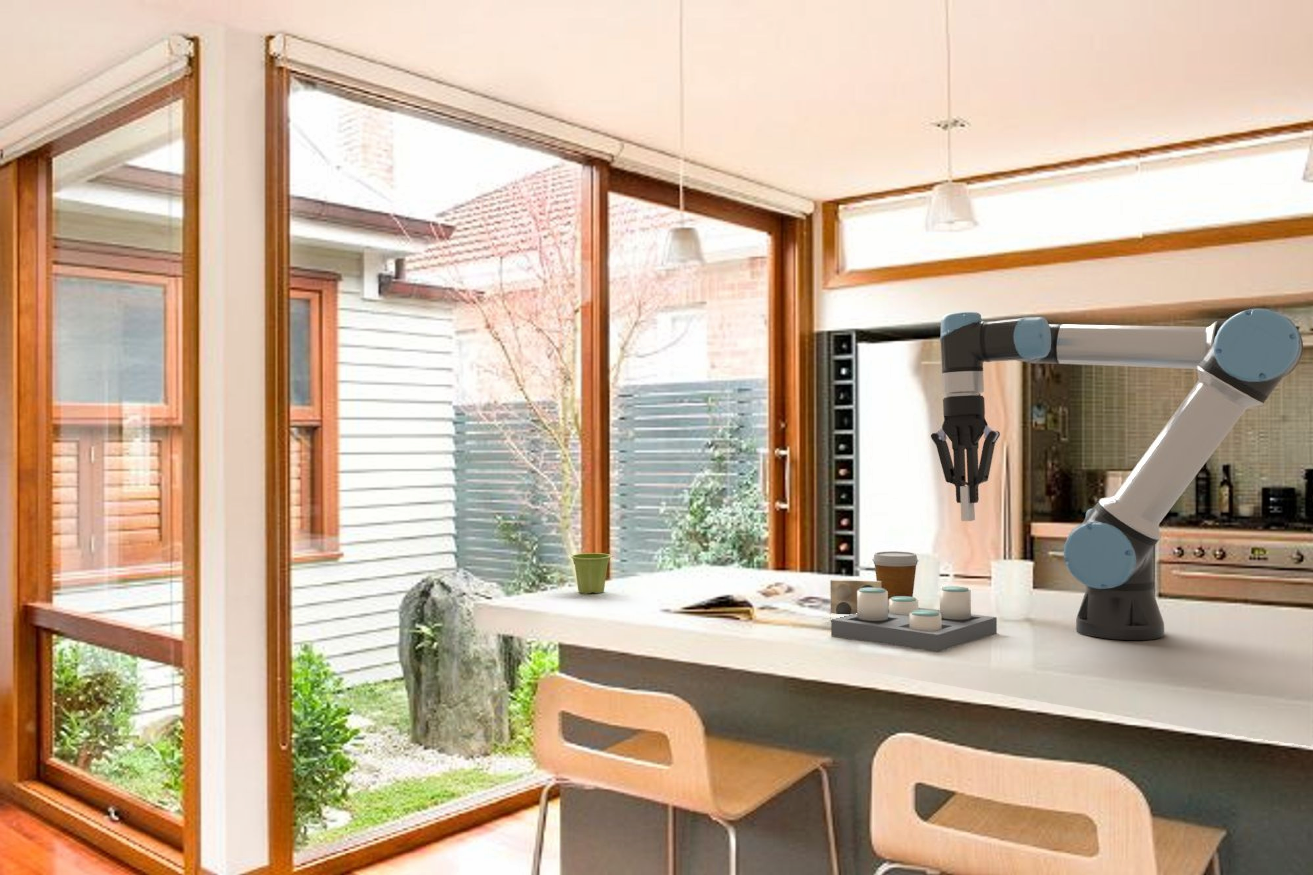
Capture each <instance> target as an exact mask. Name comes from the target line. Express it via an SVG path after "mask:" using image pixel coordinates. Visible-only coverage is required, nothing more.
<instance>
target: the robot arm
mask: <svg viewBox="0 0 1313 875" xmlns="http://www.w3.org/2000/svg"><path fill="white" fill-rule="evenodd" d="M939 342H940V354H941V357H940V358H941V376H942V377H941V378H942V380H941V381H942V382H941V384H942V385H941V386H942V392H941V393H942V394H944V395H945V396H944V397H943V399H942V406H943V407H942V409H943V410H942V411H943V413H942V414H943V418H944V419H943V422H942V425H941V429H939V430H938V431H937V432H934V433H933V432H932V433H931V434H930V438H931V440H932V441H933V444H935V446H936V451H937V453H938V457H939V458H938V459H939V461H940V464H941V468H942V473H943V477H944V479H945V480H944V481H945V482H946V483H949V484H952V485H954V486H955V497H956V498H955V500H956V503H957V504H960V517H961V518H960V519H961V522H972V521H976V517H975V515H976V514H975V504H976V503H979V485H981V484H983V483H985V482H988V481H989V475H990V471H991V467H992V462H993V455H994V450H995V446H996V443H997V441H998V440H999V438H1000V436H1001V432H1000V431H998V430H994V429H993V428H991V427H989V426H988V425H989V424H988V422H987V421H986V416H985V414H986V408H985V404H986V403H985V397H984V395H982V394H981V393H984V392H985V384H984V382H985V381H984V380H985V379H984V362H985V363H991V362H1002V361H1003V362H1010V361H1017V362H1025V363H1027V364H1034V365H1042V364H1050V365H1051V364H1052V365H1053V364H1054V365H1057V364H1058V365H1059V364H1060V365H1061V364H1062V365H1063V364H1064V365H1082V366H1083V365H1084V366H1085V365H1089V366H1109V367H1111V366H1112V367H1134V368H1136V367H1137V368H1138V367H1139V368H1160V369H1163V368H1164V369H1186V370H1189V369H1190V370H1196V371H1197V377H1198V380H1197V382H1196V383H1195V384H1194V386H1193V387H1192V388H1191V390H1190V391H1189V393H1188V394H1187V395H1186V397H1185V398H1184V400H1183V401H1182V402H1181V404H1180V405H1179V406H1178V408H1177V409H1176V410H1175V412H1174V413H1173V415H1172V416H1171V417H1170V418H1169V419H1168V421H1167V423H1166V424H1165V425H1164V426H1163V428H1162V430H1161V431H1160V432H1159V433H1158V435H1157V436H1156V438H1155V439H1154V441H1153V442H1152V443H1151V445H1150V446H1149V447H1148V449H1146V451H1145V453H1144V454H1143V455H1142V456H1141V458H1140V459H1139V461H1138V462H1137V464H1136V465H1135V466H1134V468H1133V469H1132V470H1131V472H1130V473H1129V474H1128V476H1126V479H1125V480H1124V481H1123V483H1122V484H1121V486H1120V487H1119V488H1118V489H1117V490H1116V492H1115V493H1114V495H1112V496H1106V497H1101V498H1099V500H1098V501H1097V503H1096V504H1095V505H1094V506H1093V507H1092V508H1089V509H1087V511H1086V513H1085V518H1084V520H1083V522H1082V523H1081V524H1079V525H1077V526H1076V527H1075V528H1074V529H1072V531H1071V532H1070V533H1068V536H1067V538H1066V540H1065V543H1064V547H1063V557H1064V562H1065V565H1066V567H1067V570H1068V571H1069V572H1070V574H1071V575H1072V576H1073V577H1074V578H1075V579H1076V580H1077V581H1078V582H1080V583H1081V584H1083V585H1085V591H1084V595H1083V597H1082V601H1081V603H1080V607H1079V609H1078V612H1077V616H1076V619H1075V629H1076V632H1078V633H1080V634H1082V635H1086V636H1089V637H1096V638H1100V639H1101V638H1102V639H1108V640H1109V639H1110V640H1120V641H1121V640H1122V641H1123V640H1126V641H1145V640H1148V641H1150V640H1155V639H1161V638H1163V637H1164V636H1165V622H1164V619H1163V616H1162V613H1161V610H1160V607H1159V604H1158V602H1157V598H1156V596H1155V592H1154V591H1155V590H1154V587H1155V585H1154V584H1155V583H1154V580H1155V578H1154V577H1155V576H1154V575H1155V574H1154V573H1155V572H1154V566H1155V565H1154V561H1155V560H1154V558H1155V557H1154V554H1155V553H1154V551H1155V550H1154V547H1155V545H1156V544H1157V543H1158V542H1159V541H1160V539H1161V537H1162V536H1161V532H1160V523H1161V522H1162V521H1163V519H1164V518H1165V517H1166V516H1167V514H1168V513H1169V511H1171V509H1172V507H1173V506H1174V505H1175V504H1176V502H1177V501H1178V500H1179V498H1180V497H1182V494H1183V493H1184V492H1185V490H1186V489H1187V488H1188V486H1190V484H1191V483H1192V481H1193V480H1194V479H1195V478H1196V476H1197V475H1198V474H1199V472H1200V471H1201V470H1202V468H1203V467H1204V465H1205V464H1206V463H1207V461H1208V460H1209V459H1210V458H1211V456H1212V455H1213V454H1214V453H1215V451H1216V450H1217V448H1218V447H1219V445H1220V444H1221V443H1222V442H1223V441H1224V439H1225V438H1226V436H1227V435H1228V434H1229V432H1230V431H1231V430H1232V429H1233V427H1234V426H1235V425H1236V424H1237V422H1238V421H1239V419H1240V418H1241V417H1242V416H1243V414H1244V413H1245V412H1246V410H1247V409H1249V408H1252V407H1258V406H1261V405H1263V404H1264V403H1265V402H1266V400H1267V399H1268V398H1269V397H1270V395H1271V394H1272V393H1273V392H1274V390H1275V389H1276V387H1277V386H1278V385H1279V384H1280V382H1281V381H1282V380H1283V378H1284V377H1286V376H1288V375H1289V374H1290V373H1291V372H1293V371H1294V369H1296V367H1297V366H1298V365H1299V363H1300V361H1301V359H1302V356H1303V352H1304V344H1303V342H1304V341H1303V337H1302V335H1301V333H1300V331H1299V329H1298V328H1297V326H1296V324H1295V323H1294V322H1293V321H1292V320H1291V319H1290V318H1288V317H1287V316H1285V315H1284V314H1283V313H1280V312H1278V311H1275V310H1273V309H1269V308H1262V307H1261V308H1257V307H1255V308H1250V309H1245V310H1243V311H1239V312H1238V313H1236V314H1233V315H1232V316H1230V317H1229V318H1228V319H1226V320H1225V321H1223V320H1219V321H1217V320H1216V321H1214V322H1213V323H1212V324H1211V325H1210V326H1179V325H1178V326H1177V325H1175V326H1172V325H1168V326H1167V325H1119V324H1118V325H1117V324H1116V325H1115V324H1114V325H1113V324H1112V325H1109V324H1058V323H1057V324H1056V323H1048V320H1047V319H1046V318H1045V317H1042V316H1039V317H1036V316H1035V317H1033V316H1032V317H1028V316H1025V317H1024V316H1023V317H1022V318H1012V319H1003V320H993V321H984V320H983V319H982V315H981V314H980V313H979V312H977V311H966V312H965V311H964V312H963V311H961V312H951V313H947V314H945V315H943V316H942V317H941V319H940V337H939ZM983 435H984V436H983ZM982 437H983V438H984V442H983V445H982V448H981V449H982V450H981V455H980V460H979V448H980V446H979V445H980V444H979V443H980V442H979V441H980V439H981V438H982ZM947 439H949V441H950V442H951V449H952V451H953V459H952V455H951V452H950V449H949V445H948V442H947V441H946V440H947ZM965 450H966V451H965ZM966 473H967V474H966ZM966 476H967V477H966Z"/></svg>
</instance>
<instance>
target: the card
mask: <svg viewBox="0 0 1313 875" xmlns="http://www.w3.org/2000/svg"><path fill="white" fill-rule="evenodd" d="M829 581H830V614H831V613H836V614H856V613H857V591H858V590H859V589H860V588H870V587H872V588H881V581H877V580H851V579H850V580H849V579H848V580H847V579H846V580H845V579H830V580H829Z"/></svg>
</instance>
